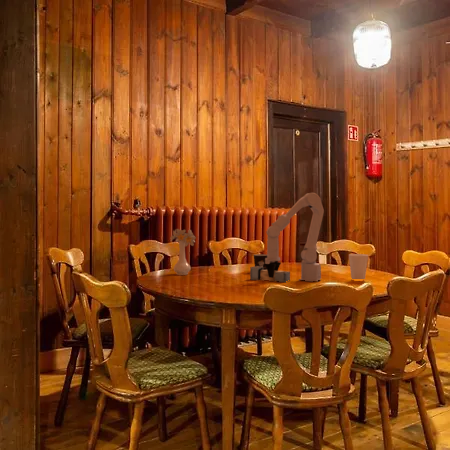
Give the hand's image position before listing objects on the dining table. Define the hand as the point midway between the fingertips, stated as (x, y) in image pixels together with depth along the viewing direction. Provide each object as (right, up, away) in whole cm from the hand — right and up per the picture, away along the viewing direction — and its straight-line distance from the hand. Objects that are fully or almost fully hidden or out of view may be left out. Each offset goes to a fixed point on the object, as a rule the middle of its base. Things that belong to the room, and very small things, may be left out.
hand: (272, 276), depth 240 cm
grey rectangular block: (-8, -2, +4) cm, 9 cm away
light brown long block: (0, -2, 0) cm, 2 cm away
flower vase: (-47, -1, +22) cm, 52 cm away
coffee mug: (-2, -1, +30) cm, 30 cm away
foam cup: (+43, -2, +1) cm, 43 cm away
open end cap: (+5, -2, -2) cm, 6 cm away
